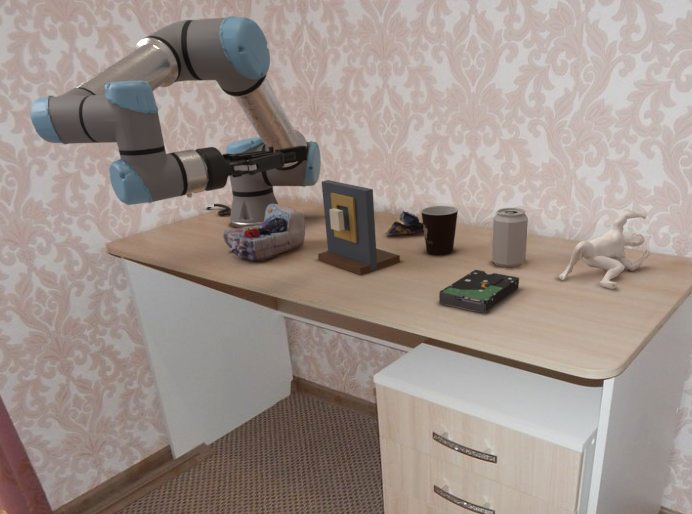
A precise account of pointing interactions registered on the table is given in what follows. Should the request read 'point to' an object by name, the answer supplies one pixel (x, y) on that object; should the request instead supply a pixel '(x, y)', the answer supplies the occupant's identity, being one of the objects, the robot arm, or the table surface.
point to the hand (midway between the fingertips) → (304, 152)
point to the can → (509, 237)
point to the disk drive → (479, 291)
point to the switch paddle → (336, 219)
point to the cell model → (268, 234)
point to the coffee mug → (439, 229)
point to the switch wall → (353, 230)
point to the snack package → (406, 225)
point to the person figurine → (609, 251)
